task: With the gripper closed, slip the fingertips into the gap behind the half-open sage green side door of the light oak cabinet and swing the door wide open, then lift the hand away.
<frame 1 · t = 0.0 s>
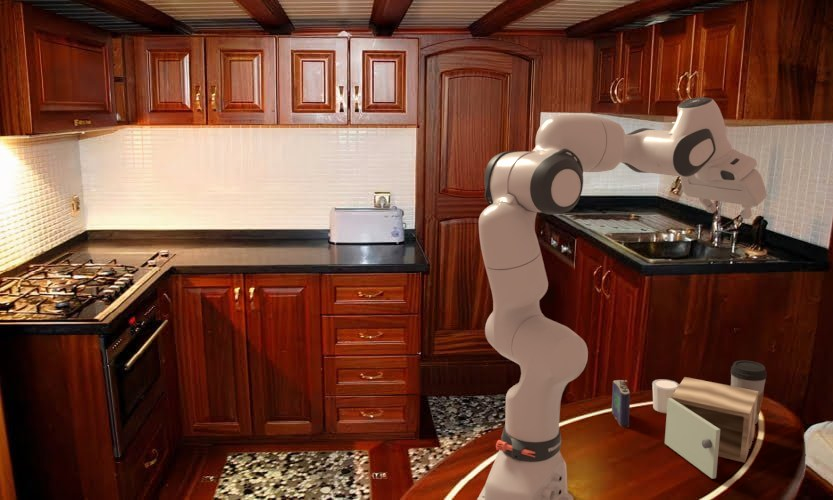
hand: (729, 214, 164), 54 cm above the table, tool tilted 30°, fingers open, 8 cm apart
coffee cup: (743, 421, 180), on the table
oak cabinet: (711, 440, 171), on the table
flask: (620, 419, 182), on the table
side door: (688, 437, 159), point 6 cm above the table, hinge at 40.0°
white cylinder: (664, 409, 188), on the table
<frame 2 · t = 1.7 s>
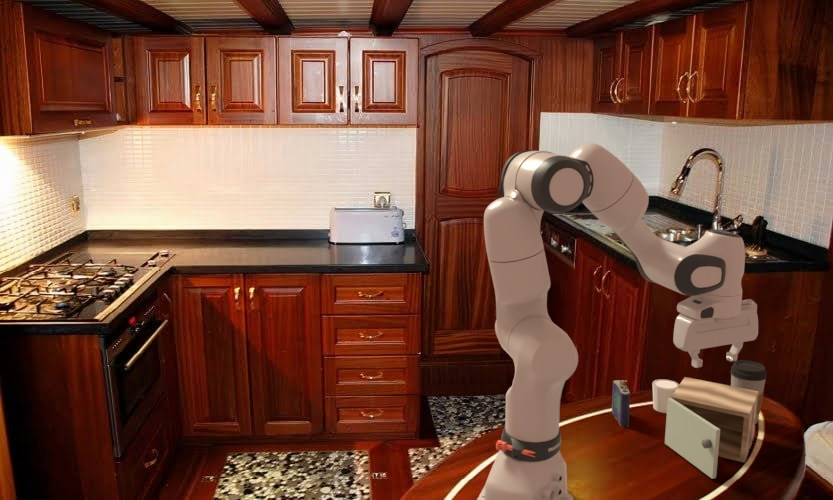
hand: (714, 363, 156), 24 cm above the table, tool pointing down, fingers open, 8 cm apart
nothing on the table moved.
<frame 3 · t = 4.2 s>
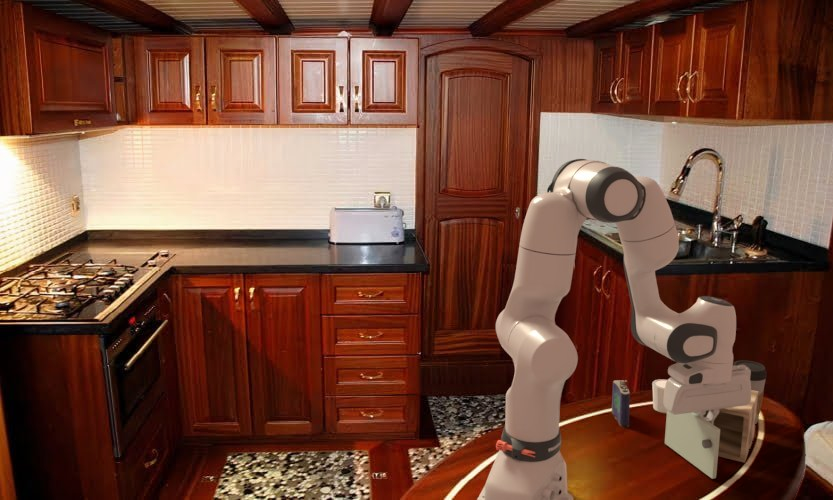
hand: (705, 426, 159), 9 cm above the table, tool pointing down, fingers closed
side door: (688, 437, 159), point 6 cm above the table, hinge at 40.0°, touching gripper
everything else where it was.
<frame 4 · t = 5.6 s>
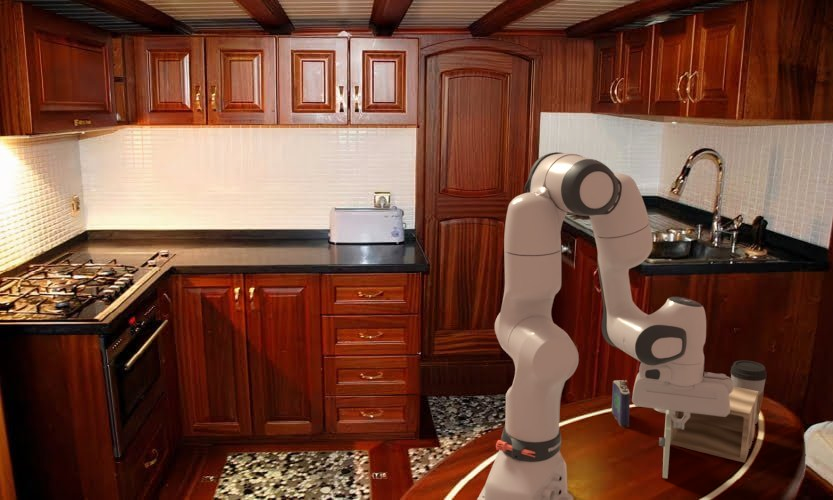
hand: (678, 427, 157), 9 cm above the table, tool pointing down, fingers closed
side door: (664, 436, 160), point 6 cm above the table, hinge at 76.9°, touching gripper
everything else where it was.
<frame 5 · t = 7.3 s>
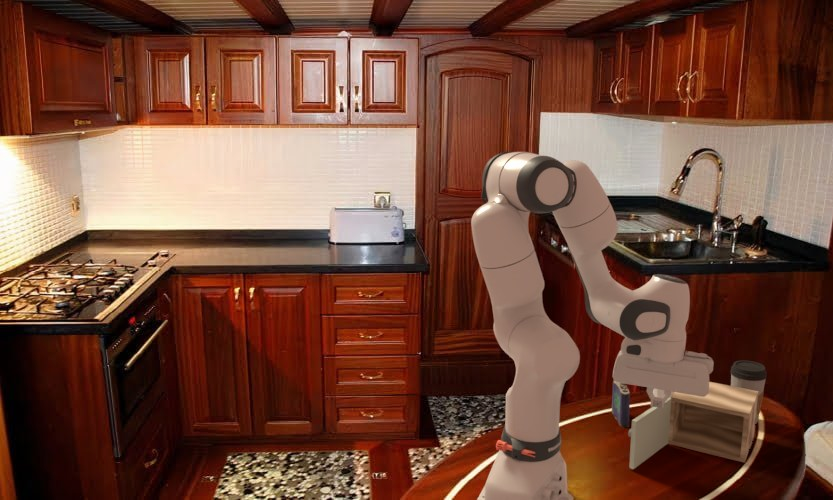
hand: (657, 406, 157), 14 cm above the table, tool pointing down, fingers closed
side door: (648, 431, 162), point 6 cm above the table, hinge at 102.5°
everything else where it was.
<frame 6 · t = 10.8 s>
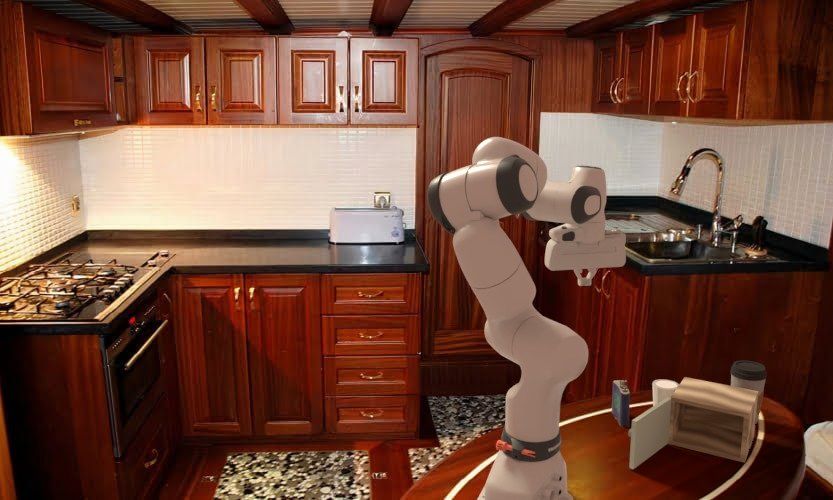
hand: (584, 285, 177), 35 cm above the table, tool pointing down, fingers closed
nothing on the table moved.
at the end: side door at +102° (first picture: +40°) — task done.
